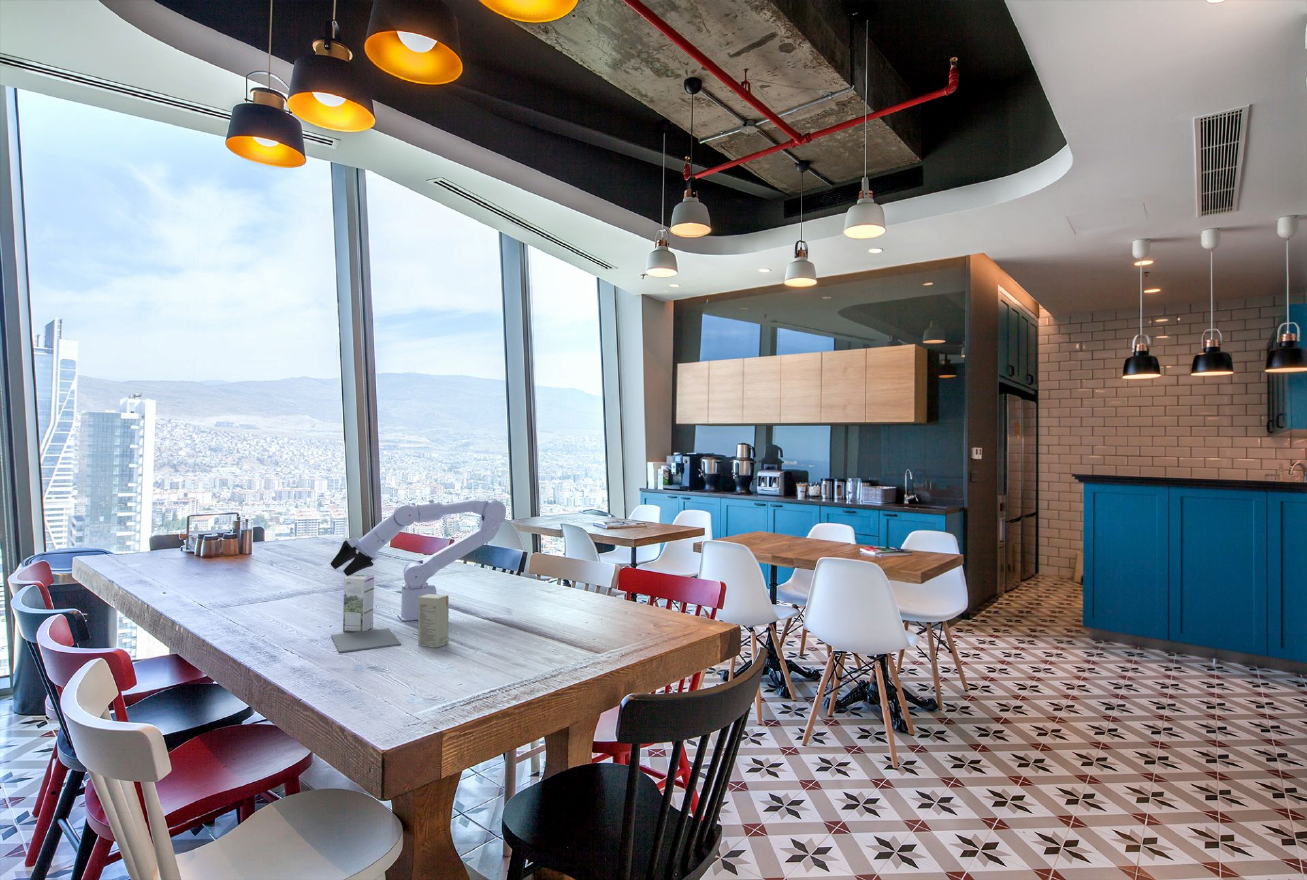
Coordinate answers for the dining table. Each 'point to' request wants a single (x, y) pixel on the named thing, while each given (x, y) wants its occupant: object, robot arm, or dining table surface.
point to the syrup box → (358, 603)
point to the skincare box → (433, 620)
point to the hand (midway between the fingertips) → (339, 570)
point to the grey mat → (364, 640)
